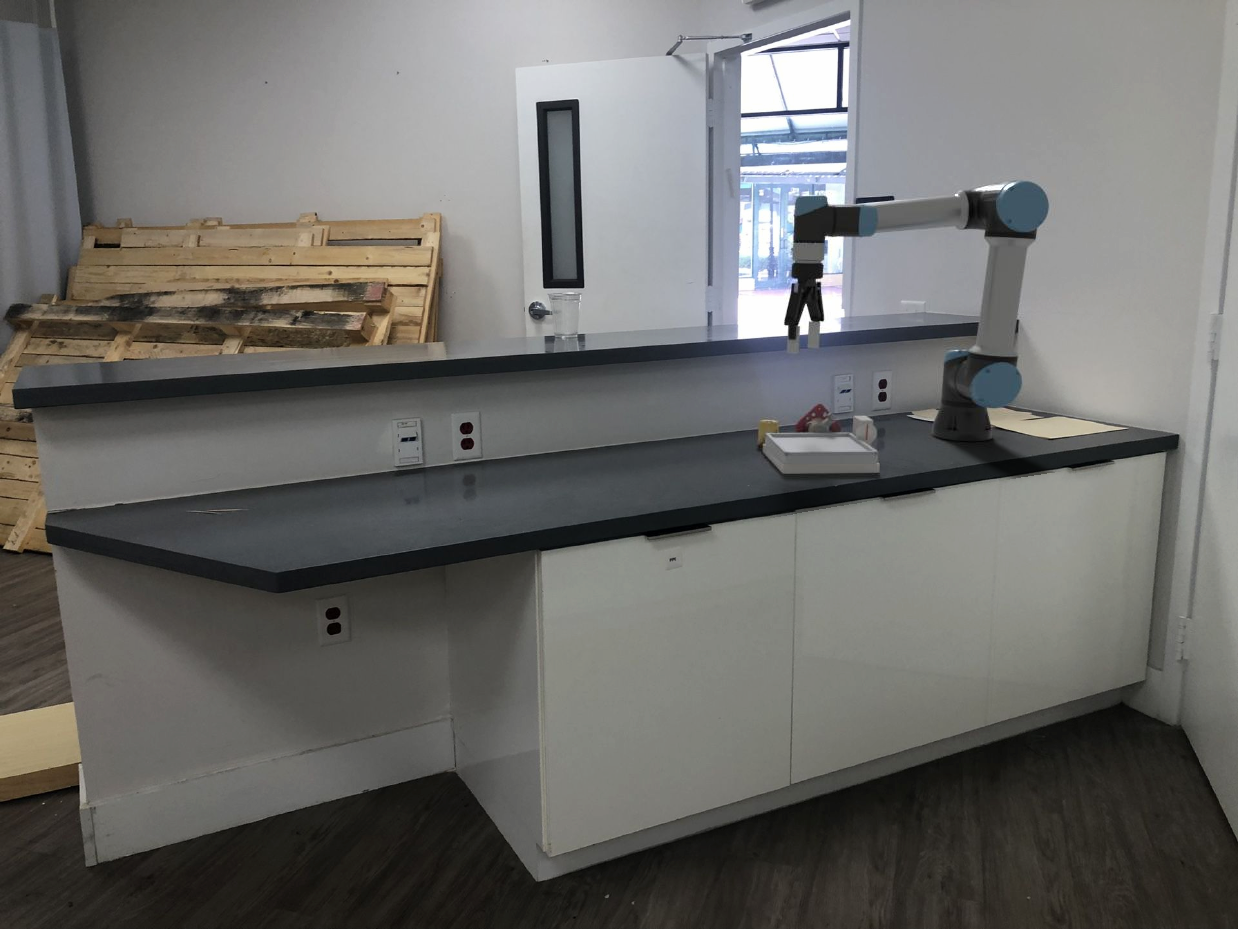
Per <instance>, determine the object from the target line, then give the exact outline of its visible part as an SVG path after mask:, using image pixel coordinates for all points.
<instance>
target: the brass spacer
mask: <svg viewBox="0 0 1238 929" xmlns="http://www.w3.org/2000/svg"><path fill="white" fill-rule="evenodd" d="M779 426H780V422H779V421H778V420H773V419H762V420H758V437H757V440H758V441H757V445H758V446H759V447H762V448H763V444H765V433H780V432H779V431H780V430H779V429H780V427H779Z"/></svg>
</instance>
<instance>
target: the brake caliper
mask: <svg viewBox="0 0 1238 929" xmlns="http://www.w3.org/2000/svg"><path fill="white" fill-rule="evenodd" d="M813 414H814V415H813ZM824 414H826V415H825V416H824ZM809 423H810V424H809ZM794 429H795V433H842V431H841V430H842V426H841V425H840V423H839V421H838V420H837V419H836V418H835V417H834V416H833V412H831V411H829V410H828V409H827V408H826V407H825V406H824V404H822V403H817V404H816V405H815V406H813V408H811V409H810V410H809V411H808V412H807V413H806V414H805V415H804V416H802V417H801V418H800V419H799V420H798V421H797V423H795V427H794Z"/></svg>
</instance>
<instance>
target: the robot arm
mask: <svg viewBox="0 0 1238 929" xmlns="http://www.w3.org/2000/svg"><path fill="white" fill-rule="evenodd" d="M1049 203H1050V202H1049V198H1048V194H1047V193H1046V192H1045V191H1044V189H1043V188H1042V187H1041V186H1040V185H1039V184H1037V183H1035V182H1033V181H1029V180H1021V179H1020V180H1019V179H1018V180H1012V181H1005V182H996V183H993V184H988V185H985V186H980V187H978V188H972V189H971V188H970V189H965V190H964V189H963V190H958V191H956V193H955V194H954V195H942V196H941V195H940V196H934V197H933V196H931V197H921V198H912V199H911V198H910V199H909V198H908V199H898V200H888V201H887V200H886V201H877V202H866V203H857V204H856V203H855V204H854V203H853V204H852V203H851V204H847V203H846V204H845V203H844V204H841V203H840V204H834V203H833V204H831V203H829V202H828V196H826V195H822V194H821V195H820V194H819V195H818V194H817V195H816V194H809V195H808V194H804V195H799V196H797V197H796V199H795V204H794V213H793V238H792V240H793V241H792V247H790V250H791V252H792V260H793V261H794V262H793V263H792V264H791V273H790V274H791V276H790V277H791V278H792V279H794V280H796V279H797V282H796V283H793V282H792V283H791V286H790V293H789V294H790V295H789V298H788V299H789V300H788V304H787V308H786V313H785V317H784V319H783V320H784V321H783V325H784V326H786V327H787V341H786V343H787V345H786V354H796V355H797V354H798V355H799V353H800V337H801V336H800V334H801V325H800V321H801V318H802V315H803V312H804V309H805V306H806V307H807V311H808V316H809V319H810V321H808V332H807V334H808V335H807V348H808V349H809V348H810V349H819V348H820V337H821V336H820V333H821V331H820V330H821V323H823V322H825V313H824V312H825V311H824V310H825V309H824V304H823V302H824V301H823V294H822V281H817V280H821V279H823V277H824V265H825V264H824V263H823V262H824V261H825V250H826V237H829V238H830V237H831V238H836V237H839V238H840V237H843V238H859V239H860V238H866V237H868V238H869V237H872V236H874V235H875V234H877V233H879V234H880V233H891V232H903V231H914V230H927V229H939V228H947V227H955V228H956V229H957V230H961V231H963V230H981V231H984V235H983V236H984V238H983V239H985V241H986V242H987V244H988V246H989V247H988V248H989V249H988V255H987V263H986V268H985V269H986V270H985V276H984V284H983V291H982V298H981V306H980V312H979V320H978V321H979V322H978V326H977V334H976V340H975V342H976V343H975V344H974V345H973V346H972V347H971V348H969V349H951V350H948V351H947V352H945V356H944V361H943V373H942V374H943V375H942V383H941V384H942V385H941V386H942V387H941V397H940V398H941V399H940V407H939V409H938V411H937V413H936V417H935V418H934V421H933V423H932V426H931V435H932V436H934V437H935V438H936V437H937V438H940V439H944V440H948V441H949V440H950V441H957V442H982V441H983V442H984V441H988V440H991V439H992V435H993V428H992V425H991V419H990V416H989V412H988V408H989V409H1001V408H1003V407H1006V406H1008V405H1009V404H1011V403H1012V402H1013V401H1015V399H1016V398H1018V396H1019V394H1020V393H1021V390H1022V386H1023V377H1022V374H1021V372H1020V371H1019V369H1018V368H1017V365H1018V359H1019V353H1018V352H1017V351H1016V350H1015V348H1014V343H1015V342H1014V340H1015V334H1016V328H1017V321H1018V320H1017V319H1018V315H1019V307H1020V299H1021V293H1022V288H1023V280H1024V274H1025V269H1026V268H1025V266H1026V259H1027V255H1028V248H1029V247H1030V246H1031V245H1032V244H1033V243H1035V242H1036V238H1037V232H1038V228H1039V227H1040V226H1041V225H1042V224H1043V223H1044V222H1045V220H1046V219H1047V217H1048V213H1049V208H1050V204H1049ZM822 261H823V262H822Z"/></svg>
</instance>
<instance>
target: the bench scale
mask: <svg viewBox="0 0 1238 929" xmlns="http://www.w3.org/2000/svg"><path fill="white" fill-rule="evenodd" d="M852 418H853V420H852V432H840V433H796V432H778V433H765V444H763V447H762V453H763V454H764V455H765V456H766V457H767V458H768V459H769V461H771V463H772V464H773V465H774V466H775V467H776V468H777V469H778V470H779V472H780V473H781V474H787V475H792V474H794V475H795V474H796V475H797V474H799V475H800V474H875V473H878V474H879V473H880V466H881V465H880V463H879V461H878V460H879V450H877V449H875V448H874V447H872V443H873V442H874V441H875V440H876V438H877V435H878V431H877V428H876V427H875V425H874V420H873V419H871V418H870V417H869V416H867V415H853V416H852Z"/></svg>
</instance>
